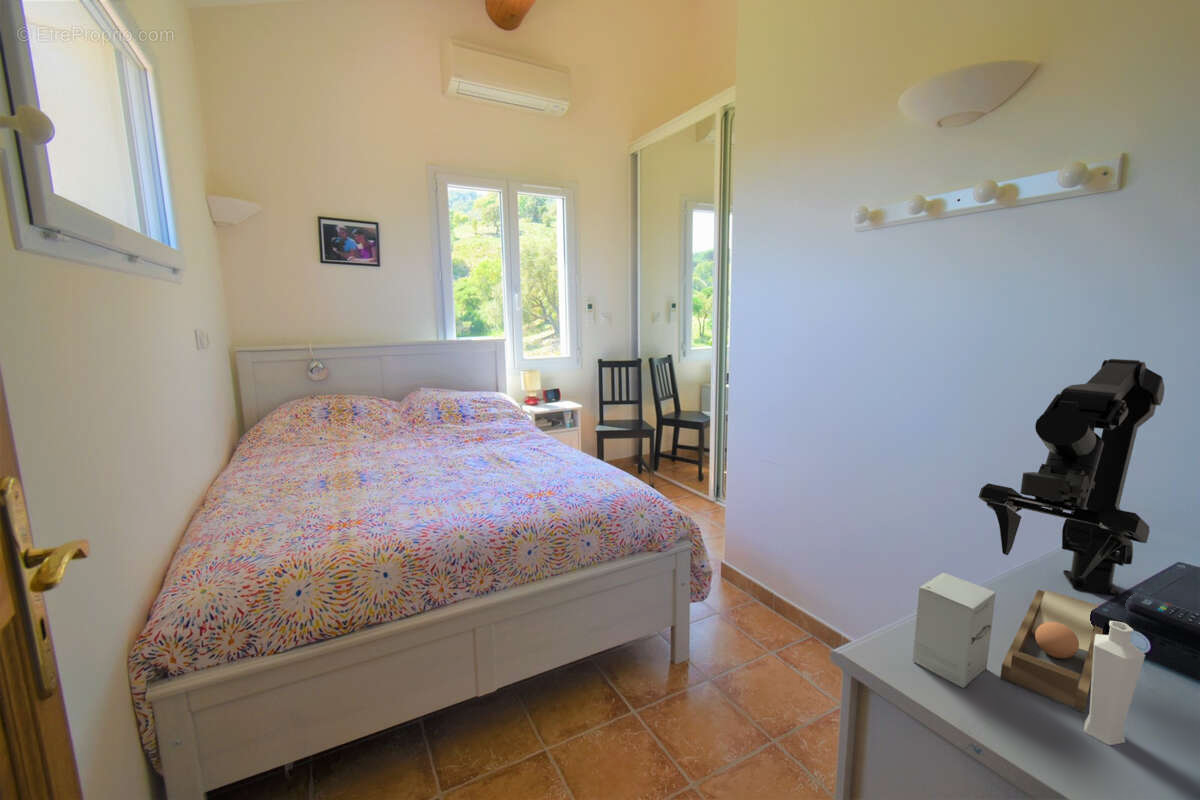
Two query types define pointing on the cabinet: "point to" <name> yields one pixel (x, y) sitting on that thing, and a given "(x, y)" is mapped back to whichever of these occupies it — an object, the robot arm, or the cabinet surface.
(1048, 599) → the wooden tray
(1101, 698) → the perfume bottle
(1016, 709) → the cabinet surface
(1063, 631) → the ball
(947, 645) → the supplement box
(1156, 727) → the cabinet surface
